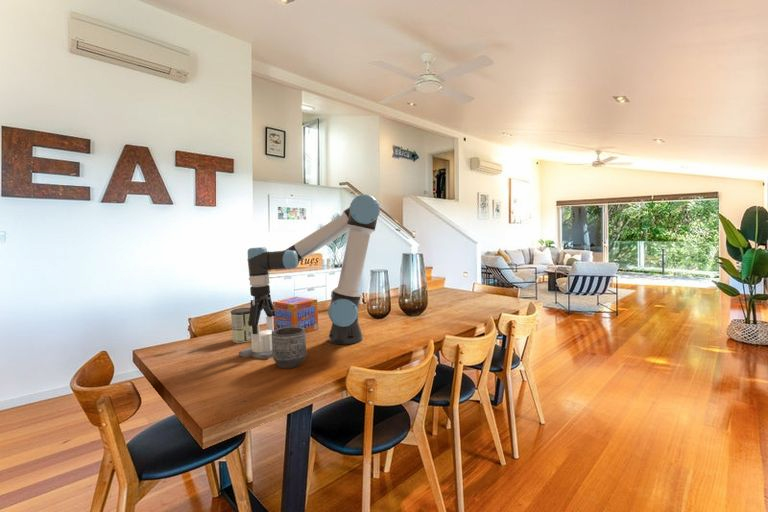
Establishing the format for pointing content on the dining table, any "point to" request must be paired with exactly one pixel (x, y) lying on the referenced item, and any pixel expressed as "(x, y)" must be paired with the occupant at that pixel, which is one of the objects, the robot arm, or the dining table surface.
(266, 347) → the cap
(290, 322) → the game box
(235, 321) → the coffee can
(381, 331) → the dining table surface
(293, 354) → the planter
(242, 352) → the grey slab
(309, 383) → the dining table surface
